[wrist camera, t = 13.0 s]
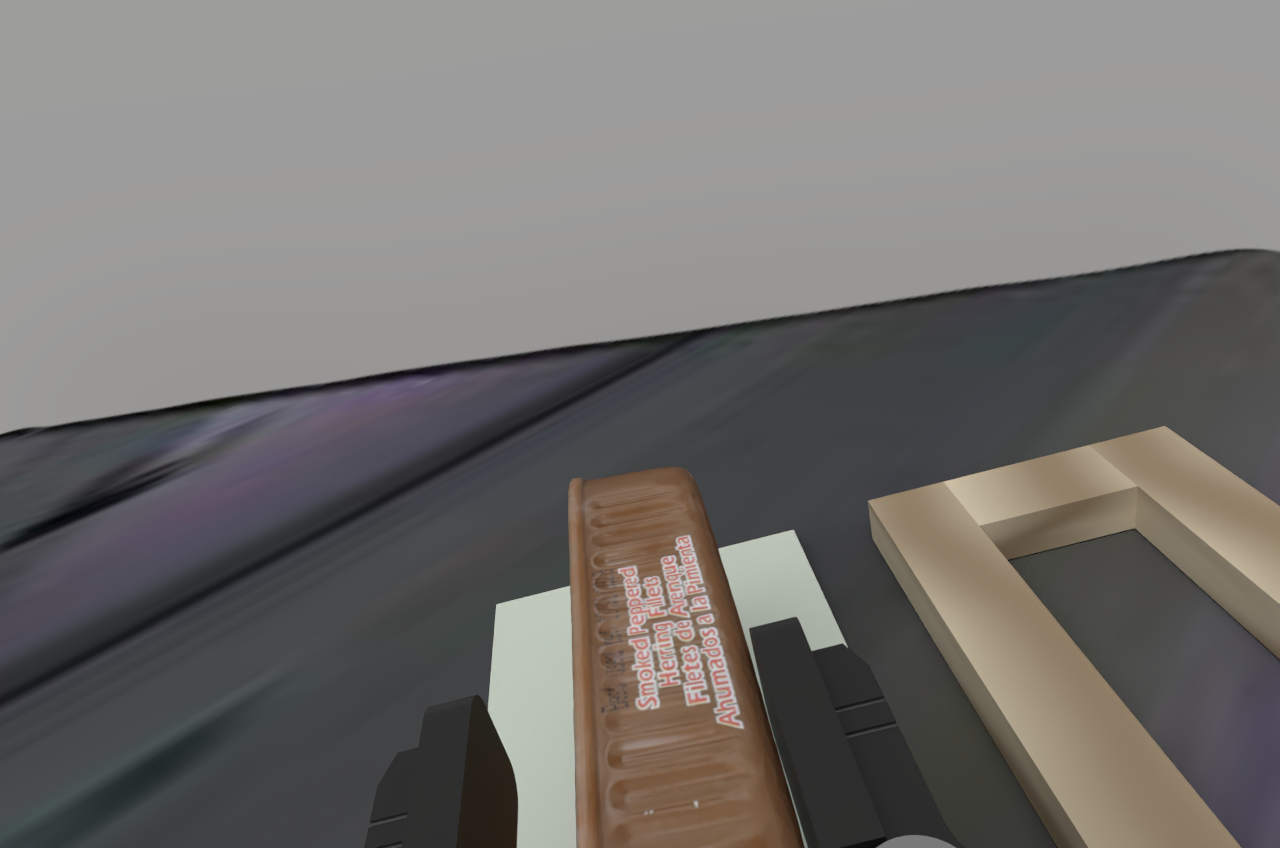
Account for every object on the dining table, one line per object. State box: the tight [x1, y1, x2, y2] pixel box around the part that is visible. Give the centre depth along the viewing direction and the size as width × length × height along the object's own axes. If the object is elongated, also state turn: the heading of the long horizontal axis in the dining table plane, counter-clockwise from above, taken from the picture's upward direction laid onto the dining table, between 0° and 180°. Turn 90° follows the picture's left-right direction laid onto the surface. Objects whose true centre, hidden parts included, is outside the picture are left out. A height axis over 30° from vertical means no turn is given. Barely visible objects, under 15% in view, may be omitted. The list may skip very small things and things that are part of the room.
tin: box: [568, 467, 805, 848], centre depth 14 cm, size 15×3×8 cm, turn 5°
